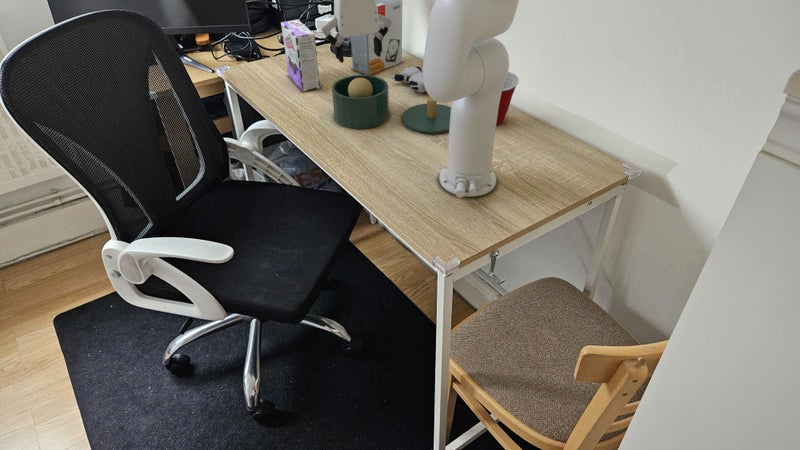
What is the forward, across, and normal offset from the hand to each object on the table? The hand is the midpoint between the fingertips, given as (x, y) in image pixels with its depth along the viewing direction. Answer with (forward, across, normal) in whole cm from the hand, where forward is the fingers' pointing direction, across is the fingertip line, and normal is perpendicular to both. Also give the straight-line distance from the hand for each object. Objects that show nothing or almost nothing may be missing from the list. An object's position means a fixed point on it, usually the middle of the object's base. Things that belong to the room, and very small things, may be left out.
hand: (359, 57), depth 129 cm
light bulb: (+16, 0, -1) cm, 16 cm away
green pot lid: (+16, -16, +9) cm, 24 cm away
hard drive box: (+16, -15, -31) cm, 38 cm away
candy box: (+16, +10, -28) cm, 34 cm away
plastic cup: (+17, -31, +15) cm, 38 cm away
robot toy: (+16, -22, -12) cm, 30 cm away
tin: (+16, 0, -1) cm, 16 cm away
